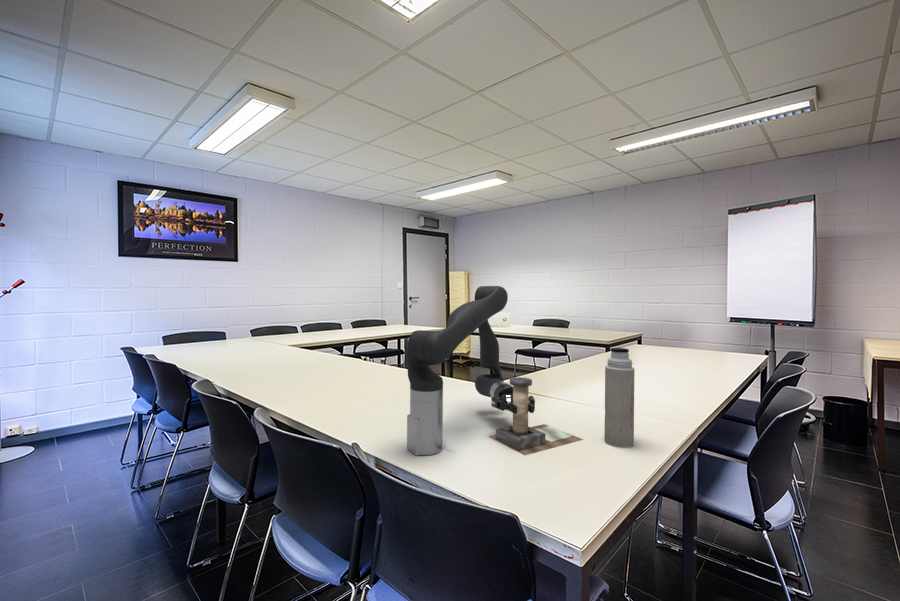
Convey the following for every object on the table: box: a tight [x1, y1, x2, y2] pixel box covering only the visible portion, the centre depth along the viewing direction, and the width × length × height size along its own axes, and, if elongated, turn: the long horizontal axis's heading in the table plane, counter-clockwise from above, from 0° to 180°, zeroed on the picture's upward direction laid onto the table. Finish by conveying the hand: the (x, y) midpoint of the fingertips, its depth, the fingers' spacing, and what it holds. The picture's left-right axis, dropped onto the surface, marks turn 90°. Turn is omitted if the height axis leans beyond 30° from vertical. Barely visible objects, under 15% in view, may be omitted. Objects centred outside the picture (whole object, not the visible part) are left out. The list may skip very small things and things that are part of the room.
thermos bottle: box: [603, 347, 636, 448], centre depth 114 cm, size 8×8×28 cm
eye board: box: [488, 423, 584, 456], centre depth 115 cm, size 23×16×4 cm
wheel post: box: [509, 376, 533, 436], centre depth 112 cm, size 6×6×18 cm
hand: (524, 409), depth 109 cm, fingers closed on wheel post, 4 cm apart
